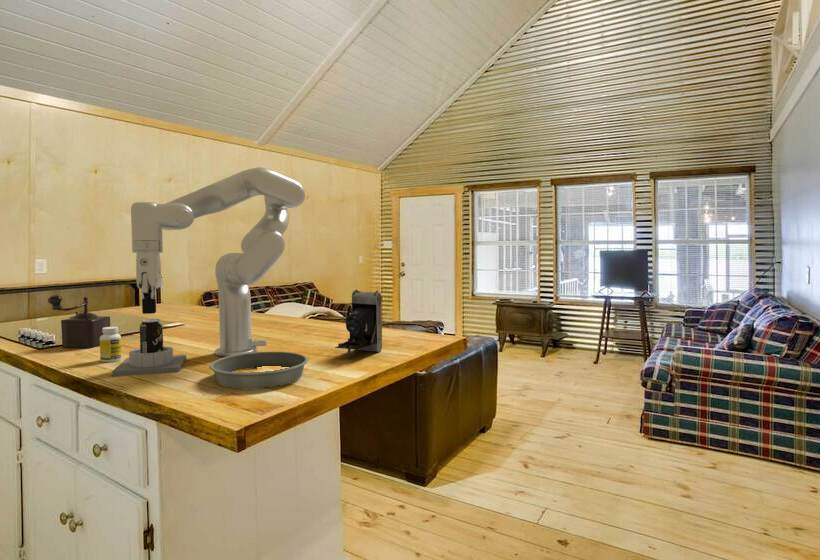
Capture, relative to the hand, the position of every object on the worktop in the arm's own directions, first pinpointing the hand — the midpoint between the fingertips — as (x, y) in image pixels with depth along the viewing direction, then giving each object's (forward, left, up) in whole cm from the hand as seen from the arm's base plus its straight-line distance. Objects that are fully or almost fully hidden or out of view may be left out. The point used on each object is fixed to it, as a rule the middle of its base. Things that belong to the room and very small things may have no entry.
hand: (149, 313), depth 139 cm
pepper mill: (+28, -37, -16) cm, 49 cm away
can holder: (0, 0, -15) cm, 15 cm away
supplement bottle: (+13, -12, -15) cm, 23 cm away
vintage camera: (-59, +2, -16) cm, 61 cm away
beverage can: (0, -1, -14) cm, 14 cm away
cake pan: (-29, +20, -16) cm, 39 cm away
